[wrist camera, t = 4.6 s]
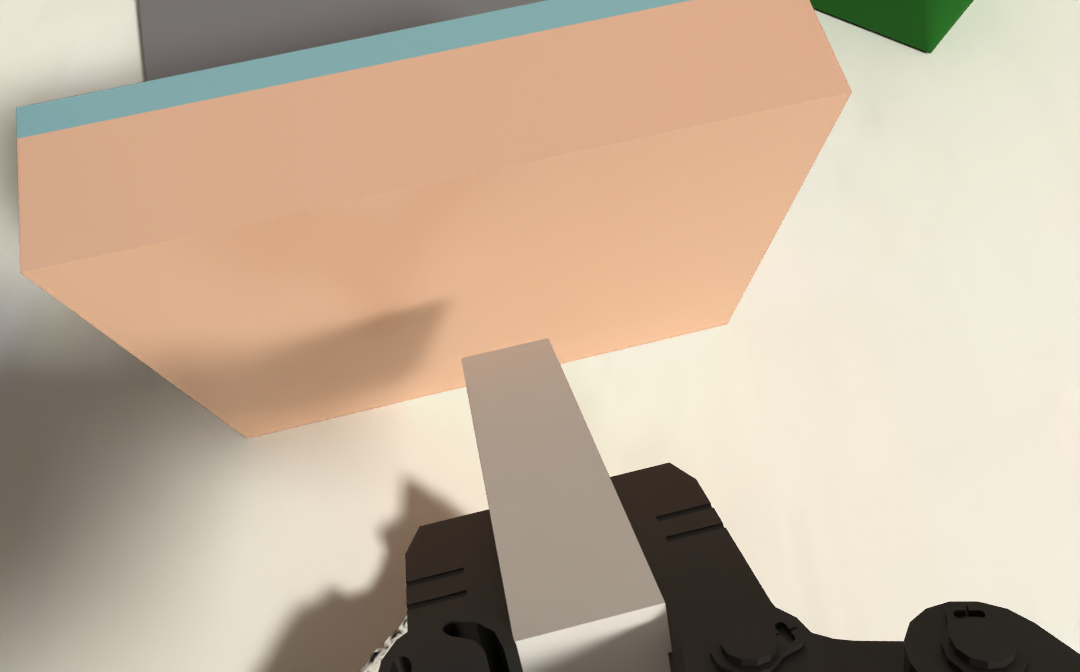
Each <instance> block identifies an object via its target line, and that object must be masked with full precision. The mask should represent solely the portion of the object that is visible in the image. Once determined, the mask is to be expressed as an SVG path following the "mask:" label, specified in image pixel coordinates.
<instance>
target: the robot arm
mask: <svg viewBox="0 0 1080 672" xmlns="http://www.w3.org/2000/svg"><path fill="white" fill-rule="evenodd" d="M461 361H462V366H463V372H464V377H465V382H466V388H467V393H468V398H469V404H470V409H471V414H472V420H473V425H474V431H475V436H476V441H477V447H478V452H479V457H480V463H481V468H482V473H483V479H484V484H485V489H486V495H487V500H488V505H489V510H485V511H481V512H477V513H473V514H469V515H464V516H460V517H456V518H452V519H448V520H444V521H440V522H436V523H432V524H428V525H424V526H420V527H419V529H418V531H417V533H416V535H415V537H414V539H413V541H412V542H411V544H410V546H409V548H408V550H407V552H406V554H405V558H406V583H407V587H406V595H407V608H408V611H407V632H406V633H405V634H404V635H402V636H401V637H400V638H398V639H397V640H396V641H395V642H394V644H393V645H392V646H391V648H390V649H389V651H388V652H387V653H386V655H385V656H384V657H383V659H382V660H381V663H380V667H379V671H378V672H1080V654H1079V653H1077V652H1076V651H1074V650H1073V649H1071V648H1070V647H1068V646H1067V645H1066V644H1064V643H1063V642H1061V641H1060V640H1058V639H1057V638H1055V637H1054V636H1053V635H1051V634H1050V633H1048V632H1047V631H1045V630H1044V629H1042V628H1041V627H1040V626H1038V625H1037V624H1035V623H1034V622H1032V621H1030V620H1028V619H1026V618H1024V617H1022V616H1020V615H1018V614H1016V613H1014V612H1012V611H1010V610H1008V609H1006V608H1002V607H998V606H993V605H989V604H985V603H981V602H947V603H943V604H940V605H937V606H933V607H930V608H927V609H925V610H924V611H923V612H922V613H920V614H919V615H918V616H917V617H916V618H914V619H913V620H912V621H911V622H910V624H909V627H908V630H907V633H906V636H905V639H904V641H850V640H840V639H832V638H829V637H825V636H821V635H818V634H814V633H812V632H810V631H809V630H808V629H807V628H806V627H805V626H804V625H803V624H802V623H801V622H800V621H799V620H798V618H796V617H794V616H792V615H790V614H788V613H786V612H784V611H782V610H780V609H778V608H776V607H775V606H774V605H773V604H772V602H771V601H770V599H769V598H768V596H767V595H766V593H765V591H764V590H763V588H762V586H761V585H760V583H759V581H758V580H757V578H756V577H755V575H754V573H753V572H752V570H751V568H750V567H749V565H748V563H747V562H746V560H745V559H744V557H743V555H742V554H741V552H740V550H739V549H738V547H737V545H736V544H735V542H734V541H733V539H732V537H731V536H730V534H729V532H728V531H727V529H726V528H724V526H723V523H722V521H721V519H720V518H719V516H718V514H717V513H716V511H715V509H714V508H712V507H711V503H710V501H709V500H708V498H707V496H706V495H705V493H704V491H703V490H702V488H701V487H700V485H699V483H698V482H697V480H696V479H695V478H693V477H691V476H690V475H688V474H687V473H685V472H684V471H682V470H680V469H679V468H677V467H676V466H674V465H672V464H671V463H666V464H662V465H658V466H654V467H650V468H645V469H641V470H637V471H633V472H629V473H625V474H621V475H617V476H613V477H609V474H608V472H607V470H606V468H605V465H604V463H603V461H602V458H601V456H600V454H599V452H598V449H597V447H596V445H595V443H594V440H593V438H592V436H591V433H590V431H589V429H588V427H587V424H586V422H585V420H584V418H583V415H582V413H581V411H580V409H579V406H578V404H577V402H576V399H575V397H574V395H573V393H572V390H571V388H570V386H569V384H568V381H567V379H566V377H565V374H564V372H563V370H562V368H561V365H560V363H559V361H558V359H557V356H556V354H555V352H554V349H553V347H552V345H551V343H550V340H549V338H546V339H542V340H538V341H533V342H529V343H525V344H520V345H516V346H511V347H507V348H503V349H498V350H494V351H490V352H485V353H481V354H477V355H472V356H468V357H464V358H461Z"/></svg>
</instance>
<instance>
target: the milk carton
mask: <svg viewBox="0 0 1080 672" xmlns="http://www.w3.org/2000/svg"><path fill="white" fill-rule="evenodd" d="M810 2H811V5H812V7H813V8H816V9H818V10H821V11H823V12H826V13H828V14H831V15H833V16H836V17H839V18H841V19H844V20H846V21H849V22H851V23H854V24H856V25H859V26H861V27H864V28H867V29H869V30H872V31H874V32H877V33H879V34H882V35H884V36H887V37H890V38H892V39H895V40H897V41H900V42H902V43H905V44H907V45H910V46H913V47H915V48H918V49H920V50H923V51H925V52H927V53H931V52H932V51H933V50H934V49H935V47H936V46H937V45H938V44H939V42H940V41H941V40H942V38H943V37H944V36H945V35H946V33H947V32H948V31H949V30H950V29H951V27H952V26H953V25H954V24H955V22H956V21H957V20H958V19H959V18H960V16H961V15H962V14H963V13H964V11H965V10H966V9H967V8H968V7H969V5H970V4H971V3H972V2H973V0H810Z"/></svg>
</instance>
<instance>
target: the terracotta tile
mask: <svg viewBox="0 0 1080 672" xmlns="http://www.w3.org/2000/svg"><path fill="white" fill-rule="evenodd" d="M851 93H852V91H851V89H850V87H849V85H848V82H847V80H846V78H845V76H844V74H843V72H842V69H841V67H840V65H839V63H838V61H837V59H836V57H835V54H834V52H833V50H832V48H831V46H830V44H829V41H828V39H827V37H826V35H825V33H824V31H823V28H822V26H821V24H820V22H819V20H818V18H817V15H816V13H815V11H814V9H813V7H812V5H811V2H810V0H547V1H542V2H537V3H532V4H527V5H522V6H517V7H512V8H507V9H502V10H497V11H492V12H487V13H482V14H477V15H472V16H467V17H463V18H458V19H453V20H448V21H443V22H438V23H433V24H428V25H423V26H418V27H413V28H408V29H403V30H398V31H393V32H388V33H383V34H379V35H374V36H369V37H364V38H359V39H354V40H349V41H344V42H339V43H334V44H329V45H324V46H319V47H314V48H309V49H304V50H299V51H295V52H290V53H285V54H280V55H275V56H270V57H265V58H260V59H255V60H250V61H245V62H240V63H235V64H230V65H225V66H220V67H215V68H211V69H206V70H201V71H196V72H191V73H186V74H181V75H176V76H171V77H166V78H161V79H156V80H151V81H146V82H141V83H136V84H131V85H127V86H122V87H117V88H112V89H107V90H102V91H97V92H92V93H87V94H82V95H77V96H72V97H67V98H62V99H57V100H52V101H47V102H43V103H38V104H33V105H28V106H23V107H18V108H16V120H17V157H18V194H19V232H20V269H21V273H22V274H23V275H24V276H26V277H27V278H28V279H30V280H31V281H32V282H34V283H35V284H37V285H38V286H39V287H41V288H42V289H43V290H45V291H46V292H47V293H49V294H50V295H52V296H53V297H54V298H56V299H57V300H58V301H60V302H61V303H63V304H64V305H65V306H67V307H68V308H69V309H71V310H72V311H73V312H75V313H76V314H78V315H79V316H80V317H82V318H83V319H84V320H86V321H87V322H88V323H90V324H91V325H93V326H94V327H95V328H97V329H98V330H99V331H101V332H102V333H104V334H105V335H106V336H108V337H109V338H110V339H112V340H113V341H114V342H116V343H117V344H119V345H120V346H121V347H123V348H124V349H125V350H127V351H128V352H129V353H131V354H132V355H134V356H135V357H136V358H138V359H139V360H140V361H142V362H143V363H144V364H146V365H147V366H149V367H150V368H151V369H153V370H154V371H155V372H157V373H158V374H160V375H161V376H162V377H164V378H165V379H166V380H168V381H169V382H170V383H172V384H173V385H175V386H176V387H177V388H179V389H180V390H181V391H183V392H184V393H185V394H187V395H188V396H190V397H191V398H192V399H194V400H195V401H196V402H198V403H199V404H201V405H202V406H203V407H205V408H206V409H207V410H209V411H210V412H211V413H213V414H214V415H216V416H217V417H218V418H220V419H221V420H222V421H224V422H225V423H226V424H228V425H229V426H231V427H232V428H233V429H235V430H236V431H237V432H239V433H240V434H241V435H243V436H244V437H246V438H252V437H256V436H260V435H264V434H268V433H273V432H277V431H281V430H285V429H289V428H294V427H298V426H302V425H306V424H310V423H315V422H319V421H323V420H327V419H331V418H336V417H340V416H344V415H348V414H352V413H357V412H361V411H365V410H369V409H373V408H378V407H382V406H386V405H390V404H394V403H399V402H403V401H407V400H411V399H415V398H420V397H424V396H428V395H432V394H436V393H441V392H445V391H449V390H453V389H457V388H462V387H466V382H465V377H464V372H463V366H462V361H461V358H464V357H468V356H472V355H477V354H481V353H485V352H490V351H494V350H498V349H503V348H507V347H511V346H516V345H520V344H525V343H529V342H533V341H538V340H542V339H546V338H549V340H550V343H551V345H552V347H553V349H554V352H555V354H556V356H557V359H558V361H559V363H560V364H563V363H567V362H571V361H575V360H579V359H584V358H588V357H592V356H596V355H600V354H605V353H609V352H613V351H617V350H621V349H626V348H630V347H634V346H638V345H642V344H647V343H651V342H655V341H659V340H663V339H668V338H672V337H676V336H680V335H684V334H689V333H693V332H697V331H701V330H705V329H710V328H714V327H718V326H722V325H726V324H728V322H729V320H730V318H731V316H732V314H733V312H734V311H735V309H736V307H737V305H738V303H739V301H740V299H741V298H742V296H743V294H744V292H745V290H746V288H747V286H748V285H749V283H750V281H751V279H752V277H753V275H754V273H755V271H756V270H757V268H758V266H759V264H760V262H761V260H762V258H763V257H764V255H765V253H766V251H767V249H768V247H769V245H770V244H771V242H772V240H773V238H774V236H775V234H776V232H777V230H778V229H779V227H780V225H781V223H782V221H783V219H784V217H785V216H786V214H787V212H788V210H789V208H790V206H791V204H792V203H793V201H794V199H795V197H796V195H797V193H798V191H799V189H800V188H801V186H802V184H803V182H804V180H805V178H806V176H807V175H808V173H809V171H810V169H811V167H812V165H813V163H814V162H815V160H816V158H817V156H818V154H819V152H820V150H821V148H822V147H823V145H824V143H825V141H826V139H827V137H828V135H829V134H830V132H831V130H832V128H833V126H834V124H835V122H836V121H837V119H838V117H839V115H840V113H841V111H842V109H843V107H844V106H845V104H846V102H847V100H848V98H849V96H850V94H851Z"/></svg>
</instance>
